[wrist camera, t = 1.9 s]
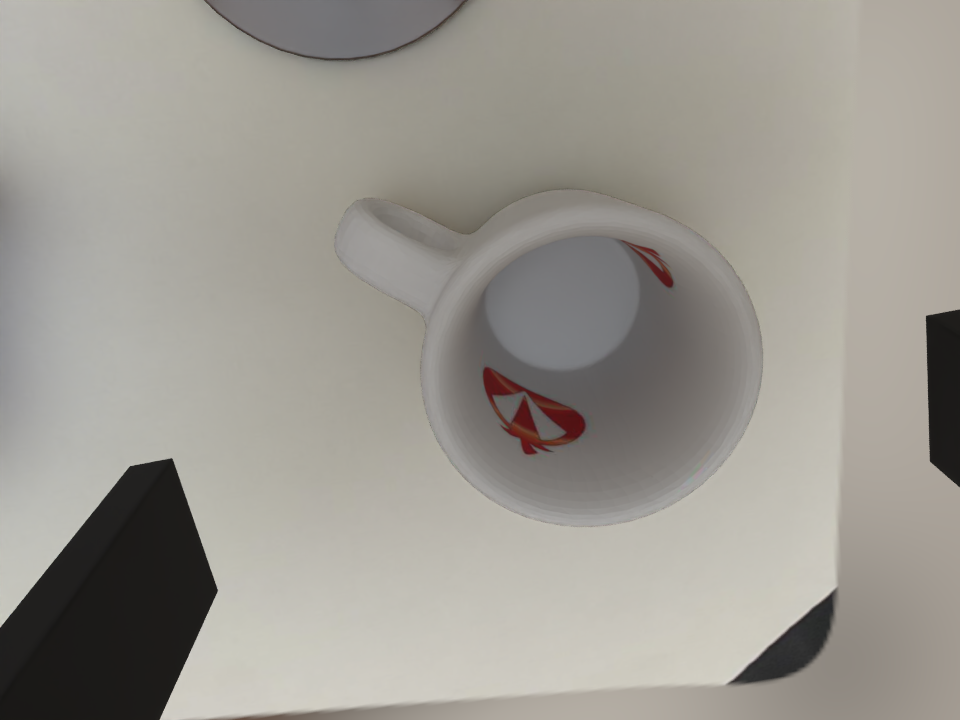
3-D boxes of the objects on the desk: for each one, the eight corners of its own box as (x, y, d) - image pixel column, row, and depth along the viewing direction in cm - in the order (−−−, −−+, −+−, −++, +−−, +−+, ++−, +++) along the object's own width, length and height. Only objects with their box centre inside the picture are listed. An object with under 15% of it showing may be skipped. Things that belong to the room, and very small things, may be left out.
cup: (309, 304, 28) (250, 400, 20) (418, 67, 25) (398, 76, 18) (605, 443, 29) (653, 579, 22) (733, 234, 27) (835, 306, 20)
